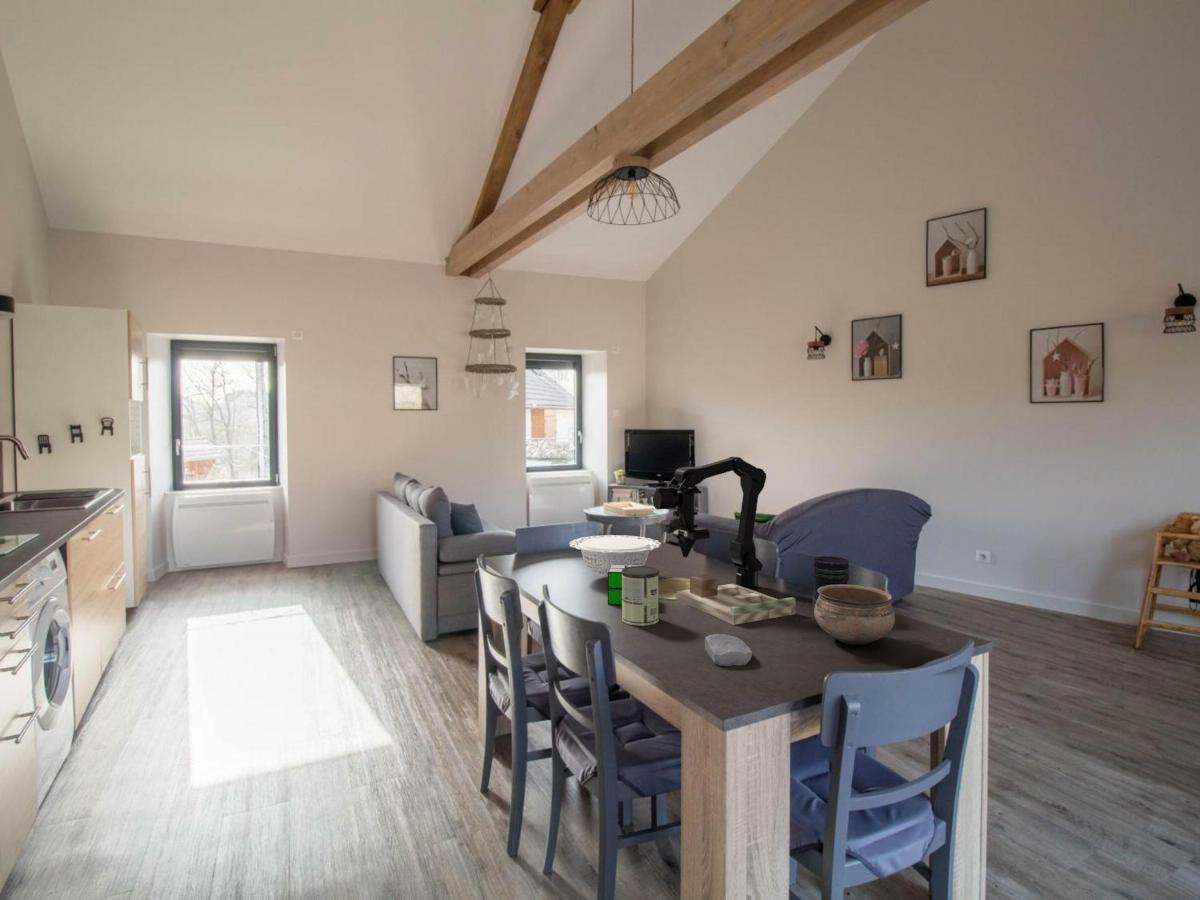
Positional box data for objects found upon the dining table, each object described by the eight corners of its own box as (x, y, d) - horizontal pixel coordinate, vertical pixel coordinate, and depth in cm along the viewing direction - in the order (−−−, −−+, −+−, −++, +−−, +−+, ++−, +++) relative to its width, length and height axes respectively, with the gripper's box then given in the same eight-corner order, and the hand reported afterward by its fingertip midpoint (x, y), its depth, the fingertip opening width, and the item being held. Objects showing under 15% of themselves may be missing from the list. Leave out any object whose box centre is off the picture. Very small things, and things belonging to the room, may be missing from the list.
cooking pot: (855, 662, 154) (856, 610, 153) (789, 639, 170) (790, 592, 169) (916, 642, 168) (918, 594, 167) (851, 623, 184) (852, 578, 183)
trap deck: (733, 591, 217) (733, 577, 216) (795, 614, 192) (795, 598, 191) (675, 599, 206) (676, 585, 206) (733, 624, 182) (733, 608, 181)
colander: (677, 576, 237) (677, 540, 236) (632, 596, 210) (632, 556, 209) (600, 565, 254) (600, 531, 253) (550, 582, 227) (550, 545, 227)
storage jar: (849, 608, 198) (850, 558, 197) (846, 617, 189) (848, 564, 188) (814, 604, 202) (815, 555, 201) (810, 613, 193) (810, 561, 192)
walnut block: (705, 590, 208) (706, 574, 208) (717, 595, 202) (717, 578, 202) (689, 592, 205) (689, 576, 205) (701, 597, 200) (701, 580, 199)
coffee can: (627, 613, 192) (627, 564, 191) (662, 616, 189) (663, 567, 188) (616, 623, 182) (616, 572, 182) (653, 627, 179) (653, 575, 178)
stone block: (739, 655, 164) (700, 648, 163) (744, 636, 164) (704, 629, 163) (754, 676, 152) (712, 668, 151) (759, 655, 152) (717, 648, 151)
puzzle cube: (642, 597, 210) (642, 565, 209) (641, 606, 200) (641, 572, 199) (610, 596, 211) (610, 564, 210) (607, 605, 201) (607, 571, 200)
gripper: (648, 505, 216) (648, 554, 217) (681, 513, 199) (680, 565, 200) (677, 503, 221) (676, 550, 222) (711, 511, 204) (711, 561, 205)
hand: (685, 557), depth 212 cm, fingers closed
